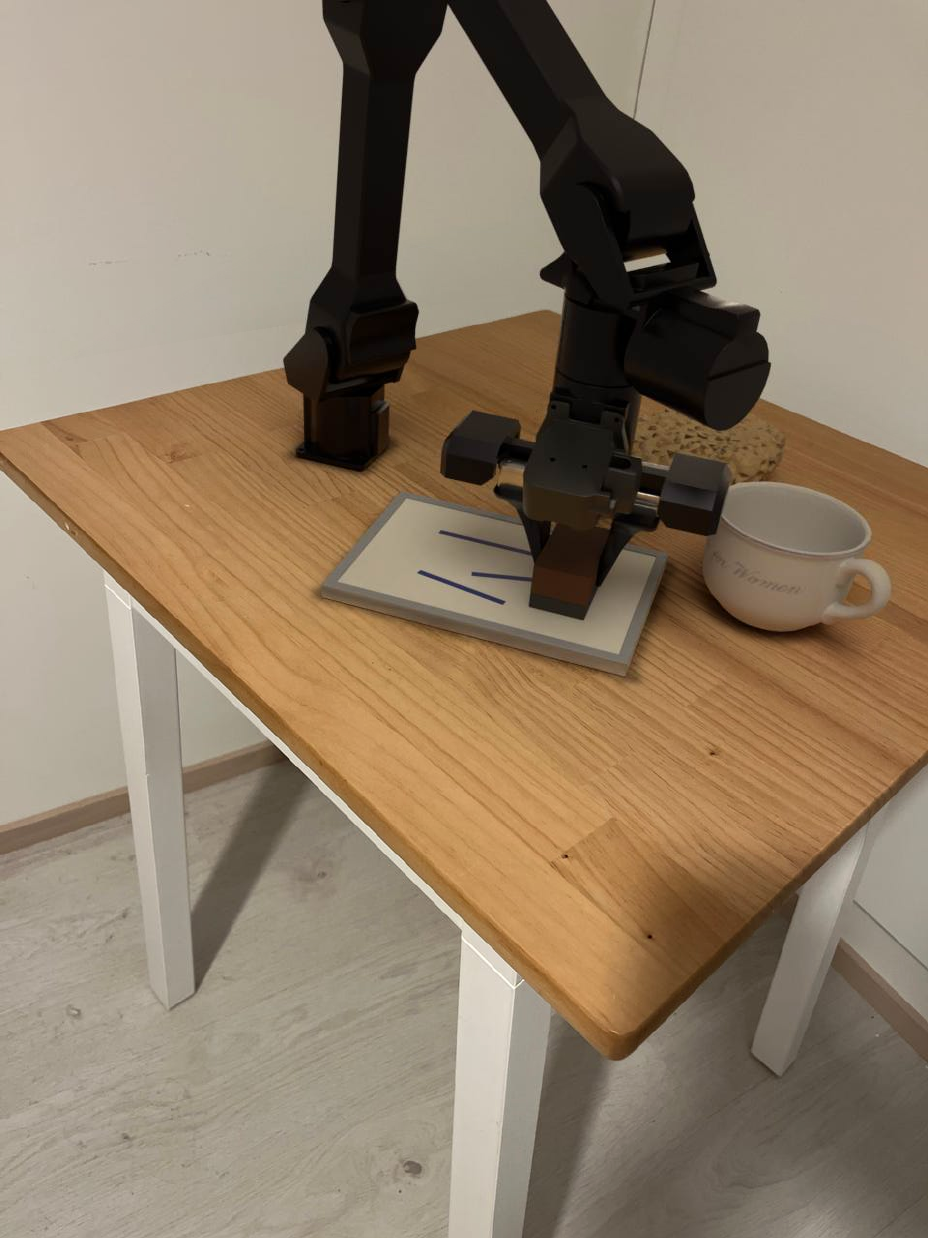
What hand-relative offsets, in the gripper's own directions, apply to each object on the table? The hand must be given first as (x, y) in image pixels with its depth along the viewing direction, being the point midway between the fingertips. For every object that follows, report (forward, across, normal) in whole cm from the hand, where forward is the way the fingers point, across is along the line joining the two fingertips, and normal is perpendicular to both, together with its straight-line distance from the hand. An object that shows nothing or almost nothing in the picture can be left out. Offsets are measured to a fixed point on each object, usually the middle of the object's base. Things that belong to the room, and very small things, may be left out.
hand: (569, 576), depth 76 cm
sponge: (+2, +4, +20) cm, 21 cm away
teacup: (+2, +15, +4) cm, 16 cm away
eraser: (+1, 0, 0) cm, 1 cm away
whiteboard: (+2, -5, 0) cm, 6 cm away
